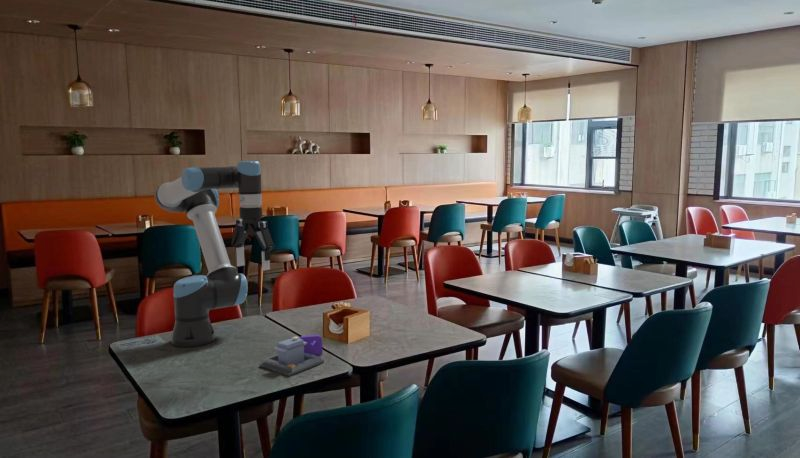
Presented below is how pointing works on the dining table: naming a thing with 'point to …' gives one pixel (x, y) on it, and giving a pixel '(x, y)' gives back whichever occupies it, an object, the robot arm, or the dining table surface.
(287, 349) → the servo
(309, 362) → the tray
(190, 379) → the dining table surface
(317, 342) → the purple block
